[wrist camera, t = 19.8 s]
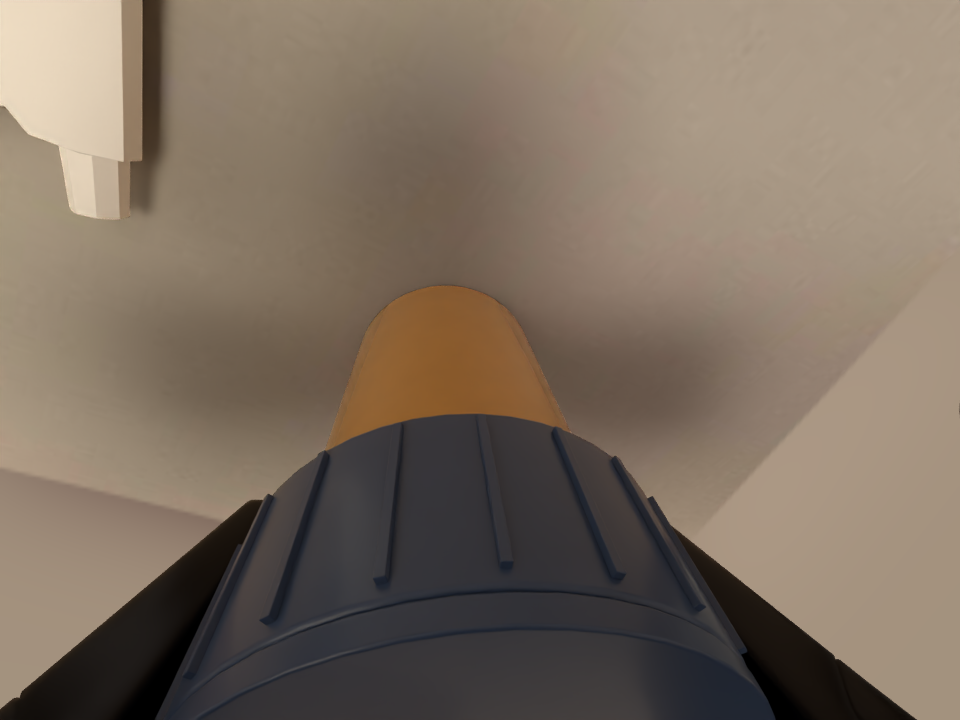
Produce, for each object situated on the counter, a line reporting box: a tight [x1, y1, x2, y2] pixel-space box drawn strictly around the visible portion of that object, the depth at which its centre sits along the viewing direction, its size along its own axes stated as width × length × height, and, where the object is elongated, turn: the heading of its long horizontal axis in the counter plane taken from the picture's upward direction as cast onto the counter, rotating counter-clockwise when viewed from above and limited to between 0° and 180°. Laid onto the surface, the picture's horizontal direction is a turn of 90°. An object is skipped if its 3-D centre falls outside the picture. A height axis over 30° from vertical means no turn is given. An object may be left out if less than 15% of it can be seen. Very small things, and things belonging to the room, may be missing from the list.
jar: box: [325, 286, 571, 451], centre depth 9 cm, size 5×5×10 cm
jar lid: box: [155, 413, 776, 720], centre depth 6 cm, size 6×6×3 cm
